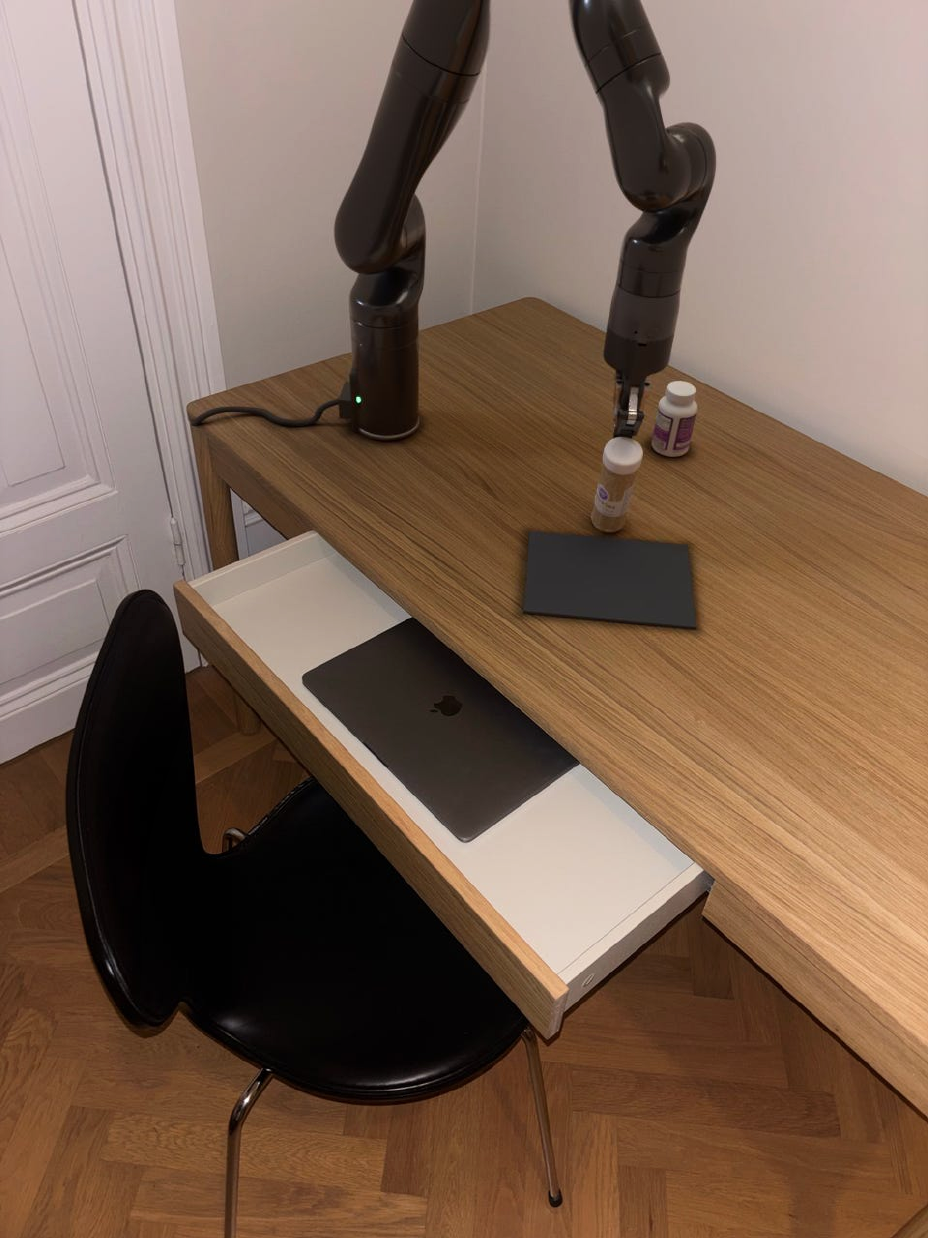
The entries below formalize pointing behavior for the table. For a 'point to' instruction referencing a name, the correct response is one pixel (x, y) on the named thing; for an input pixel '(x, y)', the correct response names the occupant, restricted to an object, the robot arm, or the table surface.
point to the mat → (609, 580)
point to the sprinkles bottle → (616, 483)
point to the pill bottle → (675, 419)
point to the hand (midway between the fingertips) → (619, 453)
